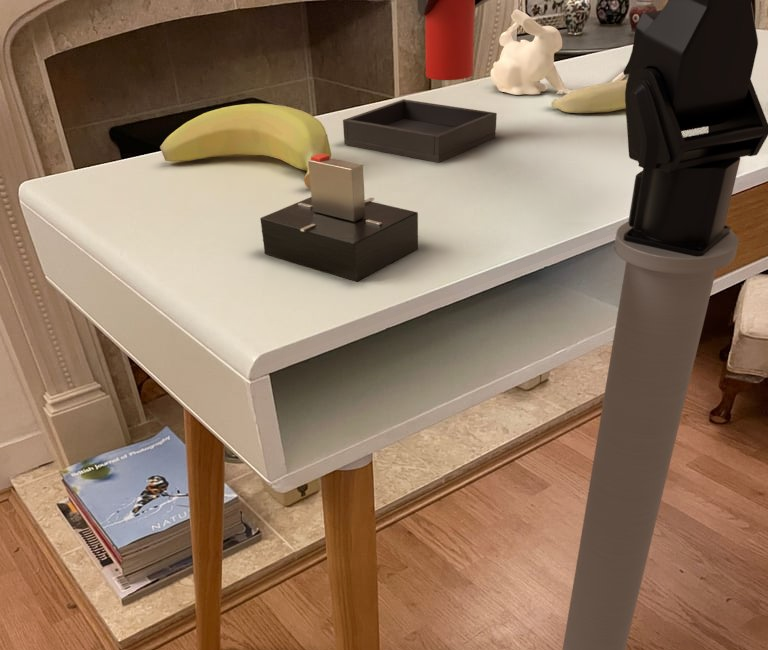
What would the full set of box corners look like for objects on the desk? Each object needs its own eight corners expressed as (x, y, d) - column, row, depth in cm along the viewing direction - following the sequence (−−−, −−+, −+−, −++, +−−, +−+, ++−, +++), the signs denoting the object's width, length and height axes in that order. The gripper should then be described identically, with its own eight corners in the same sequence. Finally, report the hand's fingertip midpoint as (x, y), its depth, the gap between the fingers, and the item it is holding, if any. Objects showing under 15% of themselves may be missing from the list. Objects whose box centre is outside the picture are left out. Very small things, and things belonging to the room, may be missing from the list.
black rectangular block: (421, 247, 66) (420, 208, 64) (353, 283, 61) (351, 242, 59) (330, 223, 71) (328, 187, 69) (261, 255, 66) (256, 217, 64)
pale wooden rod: (635, 69, 117) (636, 63, 116) (602, 98, 104) (603, 92, 103) (630, 68, 117) (631, 63, 116) (596, 97, 104) (597, 91, 104)
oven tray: (495, 137, 91) (496, 112, 89) (438, 162, 84) (439, 136, 83) (403, 122, 97) (403, 99, 96) (344, 144, 91) (342, 119, 89)
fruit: (682, 103, 100) (687, 74, 98) (584, 121, 95) (588, 90, 93) (643, 93, 105) (647, 64, 103) (549, 109, 100) (551, 79, 98)
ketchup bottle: (482, 73, 88) (488, -85, 79) (452, 82, 85) (454, -81, 76) (446, 68, 91) (448, -85, 82) (415, 76, 88) (414, -81, 79)
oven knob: (365, 217, 63) (363, 161, 61) (354, 222, 63) (351, 165, 60) (323, 206, 66) (319, 152, 63) (312, 211, 65) (307, 156, 62)
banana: (252, 71, 88) (357, 129, 77) (266, 120, 92) (367, 181, 81) (146, 127, 85) (240, 196, 74) (166, 174, 89) (258, 246, 78)
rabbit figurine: (576, 93, 106) (585, 8, 100) (543, 104, 102) (550, 16, 96) (504, 82, 113) (508, 1, 106) (470, 92, 108) (472, 9, 102)
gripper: (562, -206, 74) (494, -64, 88) (379, -202, 68) (339, -51, 83) (603, -98, 73) (528, 27, 88) (421, -85, 67) (373, 46, 82)
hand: (444, 10), depth 85 cm, fingers closed on ketchup bottle, 5 cm apart
